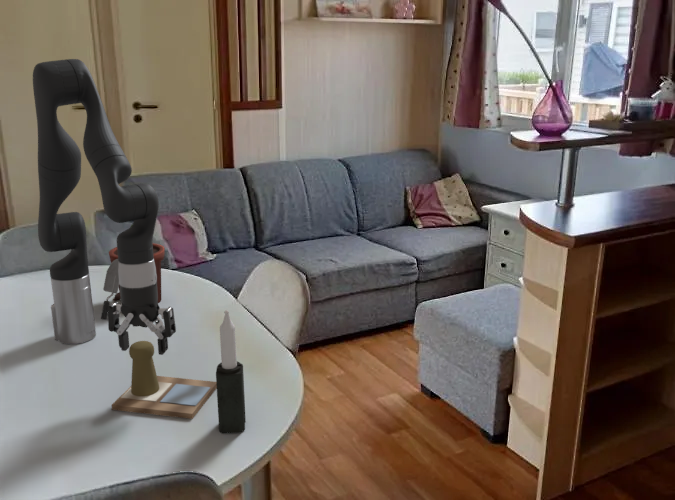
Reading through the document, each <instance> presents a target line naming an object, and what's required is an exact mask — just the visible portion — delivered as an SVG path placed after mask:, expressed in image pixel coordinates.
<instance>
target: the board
mask: <svg viewBox="0 0 675 500" xmlns="http://www.w3.org/2000/svg"><path fill="white" fill-rule="evenodd" d="M157 379H158V383H159V388H160V389H159V391H158V392H156V393H155V394H152V395H149V396H135V395H133V394H132V393H131V386H129V388H127V389H126V390H125V391H124V392H123V393H122V394H121V395H120V396H119V397H118V398H117V399H116V400H115V401H114V402H113V403H112V404H111V410H112V411H119V412H129V413H137V414H144V415H145V414H147V415H155V416H156V415H157V416H164V417H172V418H181V419H188V420H189V419H191V420H193V419H194V418H195V417H196V415H197V414H198V413H199V411H200V410H201V409H202V408H203V406H205V404H206V403H207V401H208V400H209V399H210V397H212V395H213V394H214V392H215V391H217V385H216V381H212V380H202V379H191V378H181V377H180V378H179V377H172V376H162V375H157Z"/></svg>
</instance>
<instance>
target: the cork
mask: <svg viewBox="0 0 675 500" xmlns="http://www.w3.org/2000/svg"><path fill="white" fill-rule="evenodd" d="M128 354H129V357H130V359H131V360H132V364H131V365H132V367H131V384H130V385H131V386H130V387H131V393H132V394H133V395H135V396H149V395H152V394H155V393H156V392H158V391H159V389H160V388H159V383H158V379H157V376H158V375H157V370H156V368H155V367H156V366H155V362H154V359H153V356H154V354H155V346H154V345H153V343H152V342H151V341H149V340H139V341H135V342H133V343H132V344H131V345H129V348H128Z"/></svg>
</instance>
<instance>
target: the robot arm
mask: <svg viewBox="0 0 675 500" xmlns="http://www.w3.org/2000/svg"><path fill="white" fill-rule="evenodd" d="M32 70H33V71H32V88H33V89H32V90H33V98H34V107H35V113H36V114H35V115H36V124H37V173H38V174H37V177H38V187H39V188H38V190H39V203H38V218H37V221H38V222H37V236H38V237H37V238H38V242H39V244H40V247H41V249H43V251H45V252H48V253H55V252H63V251H69V252H68V254H66V256H64V257H63V258H61V259H59V260H57V261H55V262H54V263H52V264H51V265H50V267H49V276H50V281H51V282H50V283H51V290H52V297H53V298H52V299H53V304H51V305H50V311H51V318H52V326H53V334H54V341H59V343H61V344H67V345H77V344H82V343H86V342H88V341H91V340H93V339H94V338H95V337H96V336H97V333H96V324H95V323H96V322H95V313H94V305H93V296H92V295H93V294H92V289H91V288H92V287H91V286H92V285H91V277H90V270H89V269H90V268H89V258H88V257H89V256H88V247H87V245H88V243H87V227H86V222H85V219H84V217H83V215H82V214H81V213H80V212H77V211H71V212H63V213H58V212H59V210H60V207H61V206H62V205H63V203H64V202H65V201H66V200H67V198H68V197H69V196H70V195H71V194H72V192H73V191H74V190H75V188H76V187H77V186H78V184H79V182H80V180H81V176H82V152H81V150H80V147H79V145H78V144H77V143H76V141H75V140H74V138H72V137H71V135H70V134H69V133H68V131H67V130H65V128H64V127H63V126H62V124H61V123H60V121H59V119H58V115H57V113H58V111H57V110H58V108H59V107H63V106H70V105H76V104H81V105H82V106H83V107H84V110H85V111H86V122H85V128H84V133H83V141H82V147H83V151H84V155H85V157H86V159H87V161H88V163H89V165H90V167H91V169H92V171H93V173H94V175H95V176H96V178H97V181H98V186H99V189H100V195H101V200H102V205H103V210H104V212H105V215H106V216H107V217H108V218H109V219H110V220H111V221H113V222H115V223H118V224H123V223H128V222H132V221H133V222H132V224H133V225H132V224H131V225H132V226H131V225H130V227H129V228H127V229H126V230H124V231H122V232H120V233H119V234H118V235H117V236H116V247H117V252H118V276H119V287H120V297H121V299H120V303H119V302H118V301H113V302H112V303H111V304H109V306H108V313H107V322H108V324H107V325H108V330H109V332H114V333H116V334H117V337H118V339H117V340H118V346H119V348H120V349H121V351H122V352H123V351H125V352H126V351H127V350H129V348H130V337H129V331H128V329H129V328H130V326H131V325H132V327H134V328H135V327H142V328H148V329H149V331H151V333H154V334H155V336H156V338H157V339H156V341H157V350H158V356H159V355H161V356H163V355H164V354H165V353H166V352H167V350H168V349H169V342H168V341H169V339H168V338H171V337H172V336H173V335H174V334H175V333H176V332H177V328H176V320H175V311H174V307H172V306H168V307H166V308H164V307H163V308H161V307H160V305H159V303H158V289H157V275H156V267H155V262H154V255H153V243H154V242H153V239H154V233H155V228H156V223H157V219H158V213H159V207H160V206H159V205H160V203H159V201H160V200H159V198H158V193H157V192H156V190H155V189H154V187H153V186H151V185H150V184H149V183H144V182H143V183H142V182H140V183H135V184H129V185H122V186H120V184H121V183H124V182H125V181H127V180H128V179H129V178H130V176H131V175H132V172H133V169H132V165H131V163H130V162H129V159H128V157H127V156H126V154H125V151H123V149H122V146H121V145H120V144H119V141H118V140H117V137H116V136H115V134H114V131H113V129H112V127H111V124H110V121H109V118H108V116H107V113H106V112H107V111H106V110H105V107H104V104H103V101H102V99H101V96H100V93H99V91H98V88H97V86H96V83H95V80H94V77H93V75H92V73H91V72H90V69H89V68H88V67H87V65H86V64H85V63H84V61H82V60H80V59H78V58H68V59H59V60H49V61H43V62H39V63H37V64H35V65H34V68H33V69H32ZM119 287H118V288H119ZM120 313H122V315H123V316H124V318H125V319H124V320H122V322H121V324H120ZM159 315H160V316H161V318H160V317H159ZM162 320H163V321H162Z"/></svg>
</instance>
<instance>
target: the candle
mask: <svg viewBox="0 0 675 500" xmlns="http://www.w3.org/2000/svg"><path fill="white" fill-rule="evenodd" d="M229 314H230V312H229V310H228V309H226V310H225V311H224V317H223V320H222V323H221V325H220V327H219V337H220V338H219V339H220V354H221V355H220V356H221V359H220V360H221V362H220V363H219V364H217V366H216V372H215V380H216V381H215V382H216V385H217V389H216V398H217V399H216V400H217V415H218V419H217V420H218V431H219V433H221V434H241V433H243V432H244V431H245V430H246V424H245V423H246V422H247V421H246V403H245V402H246V401H245V397H246V396H245V381H244V380H245V379H244V378H245V377H244V375H245V374H244V365H243V363H241V362H239V361H237V342H236V340H237V339H236V335H237V334H236V325H235V324H234V322H233V321H232V319H231V316H230V315H229Z"/></svg>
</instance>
